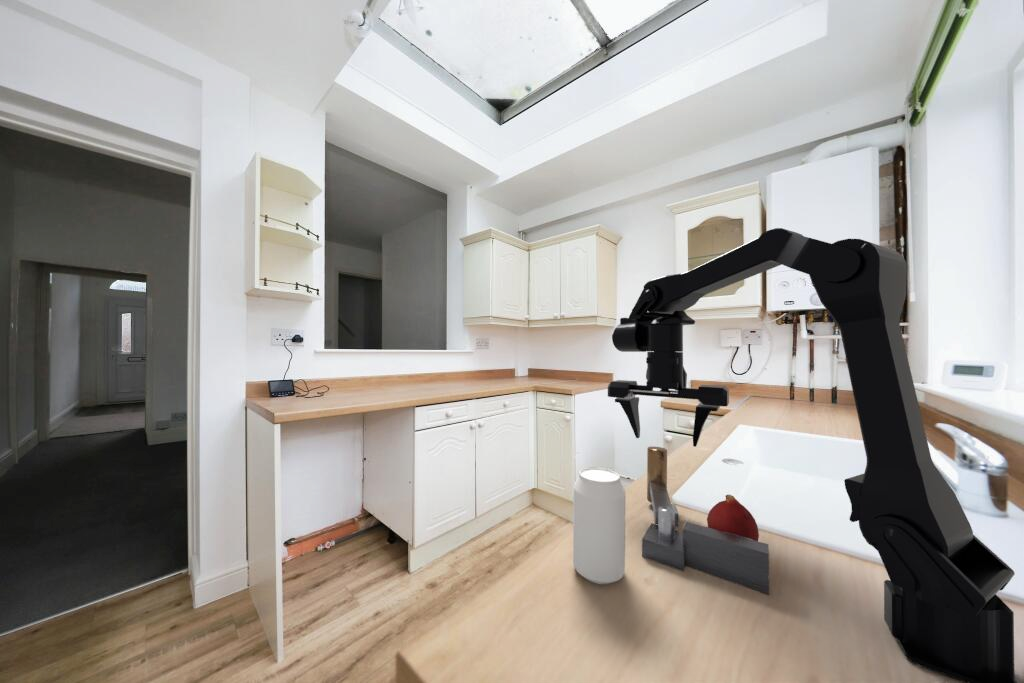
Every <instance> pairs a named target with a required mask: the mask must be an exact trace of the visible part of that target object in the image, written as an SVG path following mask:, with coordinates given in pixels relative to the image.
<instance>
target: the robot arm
mask: <svg viewBox="0 0 1024 683" xmlns="http://www.w3.org/2000/svg"><path fill="white" fill-rule="evenodd" d="M781 265H782V266H785V267H787V268H790V269H792V270H795V271H798V272H799V273H803V274H805V275H809V279H810V281H811V283H812V286H813V287H814V290H815V292H816V295H817V296H818V299H819V300H820V303H821V304H822V305H823V307H824V308H825V310H826V311H827V312H828V314H829V316H831V318H832V319H833V320H834V321H835V324H837V326H838V329H839V332H840V336H841V341H842V345H843V349H844V356H845V359H846V364H847V365H846V367H847V370H848V376H849V379H850V384H851V389H852V393H853V394H852V395H853V398H854V403H855V409H856V413H857V417H858V423H859V428H860V432H861V437H862V438H861V439H862V441H863V442H862V443H863V448H864V452H865V456H866V466H865V469H864V473H861V474H857V475H855V476H851V477H849V478H845V479H844V480H843V481H844V487H845V492H846V493H847V495H848V496H847V497H848V498H849V502H850V504H851V506H850V507H851V513H850V516H849V521H850V522H851V523H854V522H858V527H859V529H860V532H861V535H862V537H863V538H864V539H865V541H866V543H867V544H868V545H870V546H872V547H873V548H874V549H875V550H876V551H877V553H878V555H879V556H880V559H881V561H882V564H883V566H884V569H885V571H886V573H887V575H888V577H889V579H890V580H888V579H885V580H884V581H883V595H884V596H883V605H884V607H883V609H884V610H883V614H884V615H883V620H884V621H885V623H886V626H887V628H888V630H889V632H890V634H891V636H892V637H893V638H894V639H895V640H897V643H898V644H899V646H900V648H901V650H902V653H903V655H904V656H905V658H906V659H907V660H909V661H910V662H911V663H914V664H916V665H919V666H921V667H924V668H927V669H928V670H933V671H935V672H938V673H941V674H944V675H946V676H948V677H951V678H955V679H956V680H959V681H962V682H965V683H1018V682H1017V681H1016V679H1015V630H1014V629H1015V621H1014V611H1013V610H1012V609H1011V607H1009V606H1008V605H1007V604H1006V603H1005V602H1004V600H1002V599H1001V598H1000V597H999V596H998V595H997V593H998V592H1000V591H1003V590H1004V589H1005V587H1006V586H1007V585H1008V584H1009V582H1010V581H1011V580H1012V578H1014V576H1015V571H1014V570H1013V569H1012V567H1010V566H1009V565H1008V564H1007V563H1005V561H1004V560H1002V559H1001V558H1000V556H998V555H997V554H996V553H994V552H993V550H991V549H990V548H989V547H988V546H987V545H986V544H984V543H983V542H982V541H981V540H980V539H979V538H978V537H976V535H974V532H973V529H972V526H971V524H970V522H969V520H968V517H967V515H966V514H965V511H964V509H963V508H962V505H961V503H960V501H959V498H958V497H957V494H956V493H955V491H954V490H953V488H952V487H951V486H950V484H949V483H948V482H947V480H946V479H945V478H944V476H943V475H942V473H941V472H940V471H939V469H938V468H937V467H936V465H935V463H934V461H933V459H932V455H931V451H930V448H929V443H928V438H927V434H926V430H925V427H924V422H923V418H922V414H921V413H922V412H921V409H920V405H919V401H918V400H919V399H918V396H917V392H916V388H915V383H914V380H913V375H912V372H911V367H910V362H909V358H908V354H907V350H906V346H905V341H904V337H903V334H902V330H901V324H900V323H901V320H900V319H901V314H902V312H903V309H904V308H903V307H904V304H905V300H906V298H907V280H908V279H907V277H908V276H907V272H908V266H907V265H908V264H907V262H906V259H905V258H904V256H903V255H902V254H901V253H899V252H898V251H897V250H894V249H892V248H889V247H887V246H886V247H885V246H882V245H881V244H876V243H874V242H870V241H867V240H864V239H861V238H846V239H841V240H837V241H835V242H833V243H830V242H827V241H822V240H820V239H819V240H818V239H815V238H811V237H807V236H805V235H803V234H801V233H798V232H795V231H792V230H788V229H785V228H782V227H781V228H780V227H776V228H771V229H768V230H766V231H765V232H763V233H761V234H760V236H759V237H757V238H754V239H752V240H749V241H748V242H746V243H744V244H742V245H740V246H738V247H736V248H733V249H732V250H730V251H728V252H725V253H723V254H721V255H719V256H717V257H715V258H713V259H711V260H709V261H707V262H705V263H702V264H700V265H699V266H696V267H695V268H692V269H690V270H688V271H685V272H682V273H675V274H667V275H663V276H660V277H656V278H653V279H650V280H649V281H647V282H646V283H645V284H644V285H643V289H642V291H641V293H640V295H639V297H638V299H637V301H636V303H635V305H634V307H632V309H631V312H630V314H629V316H628V317H621V318H620V320H619V322H620V323H619V324H618V325H617V326H616V327H615V328H614V330H613V333H612V335H611V339H612V344H613V345H614V347H615V349H616V350H617V351H619V352H623V353H624V352H625V353H627V352H628V353H630V352H631V353H632V352H633V353H638V352H639V353H642V352H643V353H646V354H647V357H645V358H646V361H645V362H646V364H647V365H646V366H647V368H646V374H645V379H646V380H647V381H646V382H645V383H646V384H643V385H642V384H638V381H637V380H624V379H617V380H613V381H610V382H609V384H608V386H607V397H608V398H615V399H614V402H615V403H619V405H621V408H622V409H623V412H624V413H625V415H626V417H627V420H628V422H629V425H630V426H631V429H632V431H633V434H634V435H635V438H636V439H639V438H640V437H641V424H640V412H639V402H640V397H637V395H638V396H646V397H648V396H649V397H660V398H661V397H662V398H673V399H674V398H676V399H687V400H688V399H689V400H697V401H698V402H699V403H698V404H697V405H696V406H695V412H694V413H695V414H694V422H693V433H692V446H693V447H695V448H696V447H697V446H698V443H699V440H700V437H701V434H702V431H703V428H704V426H705V423H706V422H707V419H708V416H709V415H710V413H711V412H718V411H719V409H720V408H721V407H728V405H729V403H730V389H729V388H728V387H726V385H718V384H717V385H716V384H715V385H714V384H701V385H699V386H698V388H692V387H687V381H688V373H687V372H686V369H685V367H684V331H683V330H684V329H683V328H684V326H693V325H695V323H696V321H695V319H693V317H690V316H689V315H688V314H687V313H686V312H685V311H686V310H688V309H689V308H691V307H693V306H694V305H696V304H697V303H698V301H699V300H700V299H701V298H703V297H704V296H706V295H708V294H711V293H713V292H716V291H718V290H721V289H723V288H725V287H728V286H730V285H733V284H736V283H738V282H741V281H745V280H746V279H749V278H751V277H754V276H757V275H758V274H761V273H764V272H766V271H769V270H771V269H774V268H778V267H779V266H781ZM654 388H655V389H660V390H654Z"/></svg>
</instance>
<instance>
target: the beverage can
mask: <svg viewBox="0 0 1024 683" xmlns="http://www.w3.org/2000/svg"><path fill="white" fill-rule="evenodd" d="M626 494H627V493H626V490H625V488H624V485H623V484H622V481H621V476H620V474H619V473H618V472H616V471H614V470H612V469H608V468H604V467H585V468H582V469H580V470H579V471H578V477H577V478H576V480H575V483H574V484H573V506H572V507H573V508H572V509H573V515H572V517H573V519H572V520H573V521H572V522H573V523H572V524H573V526H572V531H573V532H572V533H573V534H572V562H573V563H572V564H573V567H574V569H575V571H576V572H577V573H578V574H579V575H580V576H582V577H583V578H585V580H588V582H592V583H594V584H598V585H609V584H612V583H615V582H617V581H619V580H620V579H622V578H623V576H624V575H625V569H626V567H625V566H626V498H627V497H626Z"/></svg>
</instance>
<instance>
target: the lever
mask: <svg viewBox="0 0 1024 683" xmlns="http://www.w3.org/2000/svg"><path fill="white" fill-rule="evenodd" d="M646 453H647V454H646V456H647V462H646V464H647V467H646V472H647V474H646V476H647V477H646V484H647V486H646V489H647V490H646V500H647V501H648V502H649V503H651V506H652V512H653V517H654V524H656V525H658V516H659V507H660V506H667V507H670V508H673V509H674V510H675V527H677V528H678V527H679V526H680V525H679V522H680V521H679V515H680V514H679V511H678V508H677V505H676V504H673V503H672V502H671V499H670V495H669V492H668V449H667V448H665V447H660V446H648V447H647V452H646Z"/></svg>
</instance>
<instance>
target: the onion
mask: <svg viewBox="0 0 1024 683" xmlns="http://www.w3.org/2000/svg"><path fill="white" fill-rule="evenodd" d="M706 522H707V527H708V528H712V529H715V530H719V531H722V532H728V533H732V534H735V535H739V536H742V537H746V538H750V539H753V540H755V541H758V542H759V538H760V534H759V528H758V525H757V522H756V519H755V517H754V516H753V515H752V513H751V512H750V511H749V509H747V508H746V507H745V506H744V505H743V504H742V503H740V502H739V500H737V499H736V497H735V496H734V495H732V494H726V495H725V499H724V500H722V501H719V502H717V503H715V505H714V506H713V507H711V508H710V510H709V512H708V514H707V518H706Z"/></svg>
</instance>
